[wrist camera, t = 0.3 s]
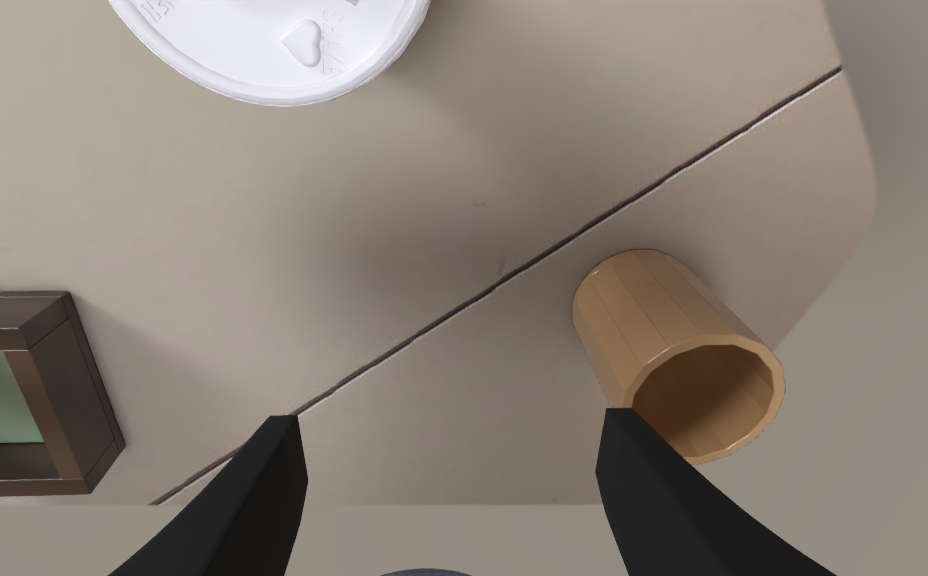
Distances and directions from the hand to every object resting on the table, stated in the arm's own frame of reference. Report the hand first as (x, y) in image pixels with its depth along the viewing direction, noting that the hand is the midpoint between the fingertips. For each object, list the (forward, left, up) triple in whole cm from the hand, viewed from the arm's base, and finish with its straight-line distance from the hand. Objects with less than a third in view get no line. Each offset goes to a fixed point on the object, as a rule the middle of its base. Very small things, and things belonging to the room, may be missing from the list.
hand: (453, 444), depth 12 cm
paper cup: (-3, -9, -11) cm, 14 cm away
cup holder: (-6, +20, -11) cm, 24 cm away
